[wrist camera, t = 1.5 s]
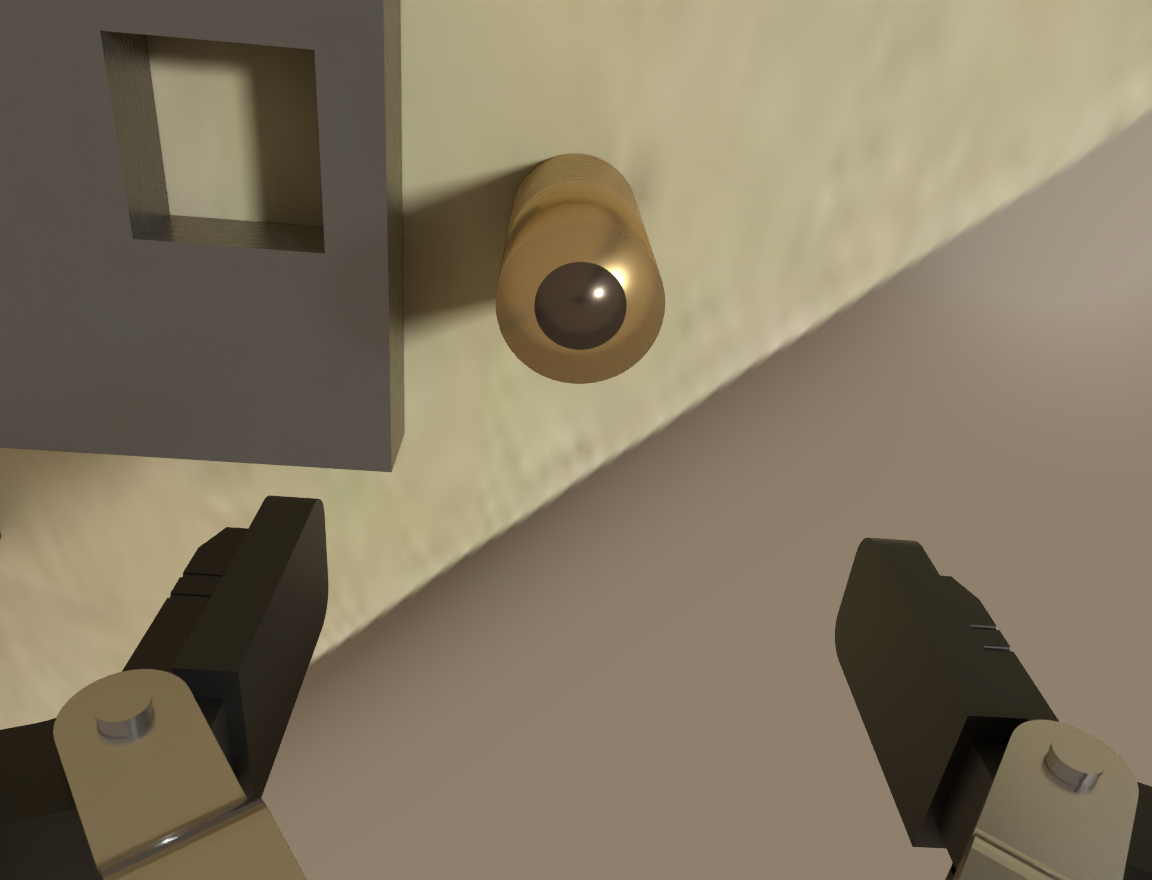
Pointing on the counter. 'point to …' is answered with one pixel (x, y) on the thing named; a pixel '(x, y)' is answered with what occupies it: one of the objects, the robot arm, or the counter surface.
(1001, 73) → the counter surface
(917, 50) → the counter surface
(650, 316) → the golden brown cylinder
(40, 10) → the jig
